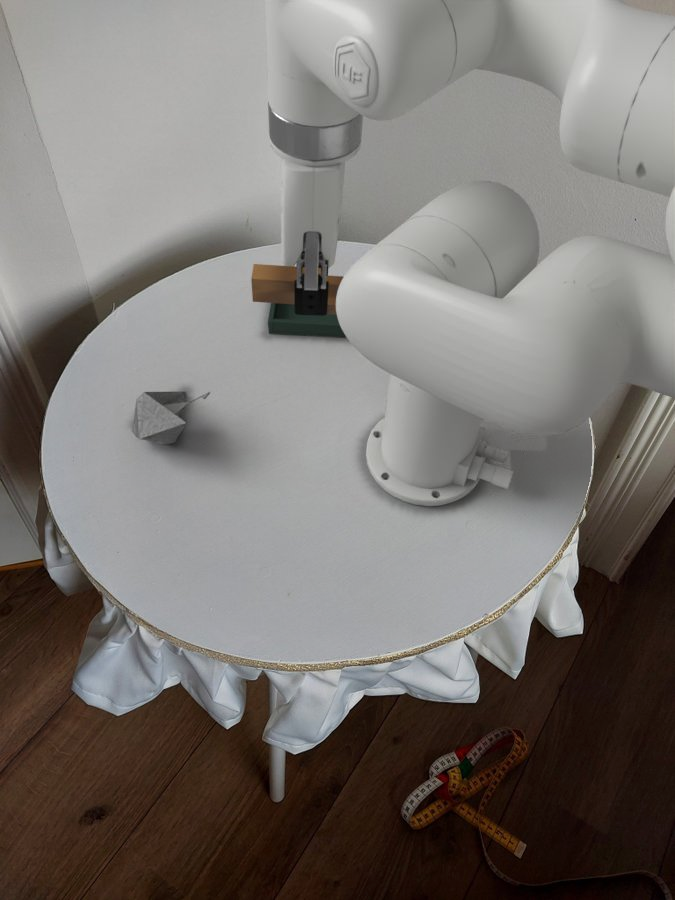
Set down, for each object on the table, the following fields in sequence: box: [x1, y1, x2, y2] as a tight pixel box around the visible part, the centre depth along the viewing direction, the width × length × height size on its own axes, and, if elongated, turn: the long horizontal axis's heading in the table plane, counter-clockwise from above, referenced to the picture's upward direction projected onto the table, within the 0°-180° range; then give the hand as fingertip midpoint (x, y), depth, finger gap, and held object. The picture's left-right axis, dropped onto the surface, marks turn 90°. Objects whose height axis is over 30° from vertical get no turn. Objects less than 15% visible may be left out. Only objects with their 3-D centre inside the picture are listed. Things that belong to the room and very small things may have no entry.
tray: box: [267, 303, 347, 339], centre depth 90 cm, size 17×9×2 cm, turn 87°
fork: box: [250, 263, 345, 315], centre depth 72 cm, size 14×4×3 cm, turn 88°
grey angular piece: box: [131, 391, 211, 445], centre depth 77 cm, size 12×6×9 cm
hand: (311, 293), depth 73 cm, fingers closed on fork, 4 cm apart
